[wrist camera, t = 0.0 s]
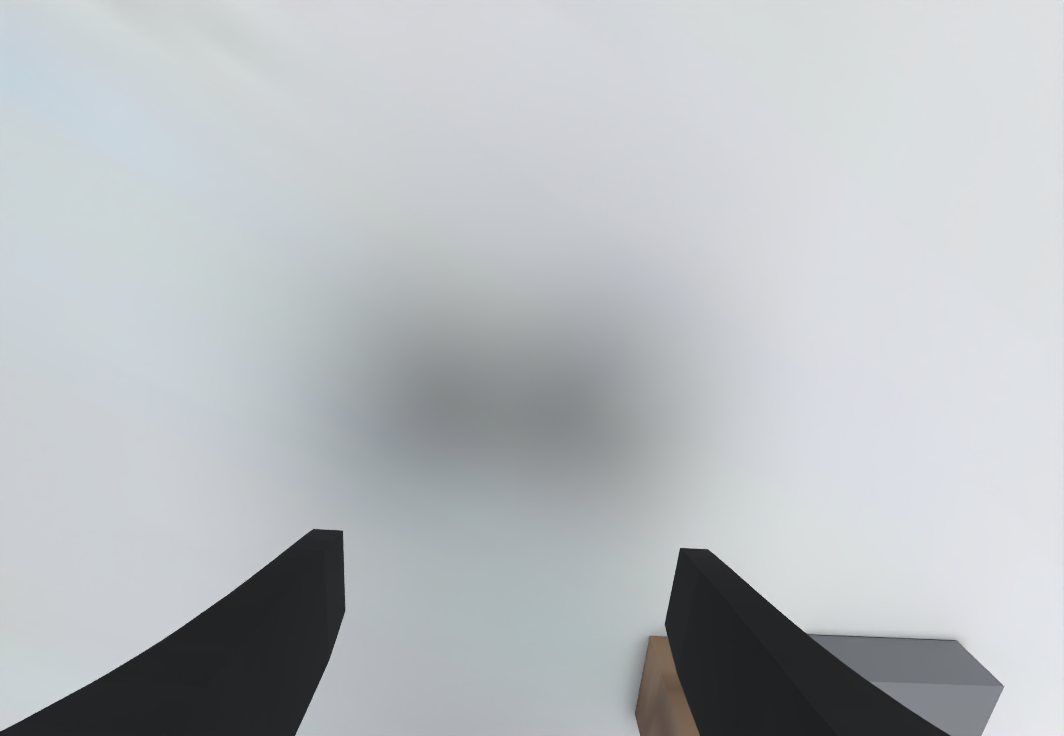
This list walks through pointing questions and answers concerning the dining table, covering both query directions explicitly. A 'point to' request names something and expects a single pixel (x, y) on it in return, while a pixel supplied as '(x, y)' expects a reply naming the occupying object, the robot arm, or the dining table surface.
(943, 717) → the slate base
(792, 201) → the dining table surface
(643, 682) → the walnut cube
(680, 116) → the dining table surface
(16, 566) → the dining table surface
